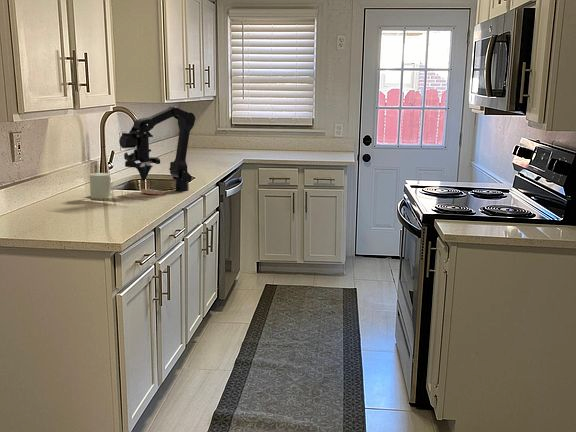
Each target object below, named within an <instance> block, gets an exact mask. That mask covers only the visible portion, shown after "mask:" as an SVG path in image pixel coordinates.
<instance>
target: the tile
mask: <svg viewBox="0 0 576 432" xmlns="http://www.w3.org/2000/svg"><path fill="white" fill-rule="evenodd" d="M140 192H141V193H148V194H158V195H163V194H166V193H167V191H165V190H159V189H158V190H157V189H143V188H141V190H140Z"/></svg>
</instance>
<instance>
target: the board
mask: <svg viewBox="0 0 576 432" xmlns="http://www.w3.org/2000/svg"><path fill="white" fill-rule="evenodd" d="M166 196H167V195H165V194H148V193H141V191H140V192H138V191H134V192H130V193H125V194H121V195H117V196H115V198H121V199H130V200H137V201H146V202H147V201H152V200H155V199H158V198H163V197H166Z"/></svg>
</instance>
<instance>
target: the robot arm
mask: <svg viewBox="0 0 576 432" xmlns="http://www.w3.org/2000/svg"><path fill="white" fill-rule="evenodd" d="M171 118H174V119H175V120H177V125H178V129H179V133H178V138H177V139H178V140H177V146H176V152H175V153H176V154H175V159H174V160H173V161H170V162H169V169H168V170H169V174H170V176H171V177H172V179H173V181H175V192H180V193H181V192H189V191H190V190H189V189H190V187H189V186H190V183H189V182H191V181H192V179H193V176H192V175H191V174H190V173H189V172H188V165H187V164H188V163H187V161H186V160H187V153H188V147H189V146H188V145H189V138H190V135H191V134H190V133H191V130H192V129H193V127H194V125H195V123H196V116H195V114H194V113H192V112H188V111H186V110H183V109H180V108H178V107H176V106H169V107H168V108H166V109H164V110H162V111H160V112H157V113H155V114H153V115H151V116H149V117H143V118H138V119H135V120H134V121H133V125H132V126H131V129H130V131H129V132H121V136H120V137H119V141H118V142H119V146H120V147H121V149H133V152H132V153H130V152H129V151H128V152H124V154H123V159H124V160H125V162H124V167H126V168H133V169H134V168H135V169H137V171H138V173H139V176H140V179H141V181H143V182H145V181H146V180H147V177H148V175H149V172H150V171H151V169H152V168H153V167H154V165H151V164H155V165H160V164H161V159H160V157H154V156H153V157H152V156H151V157H150V152H152V149H150V143H149V142H150V138H153V137H154V135H153V134H151V132H150V131H151V130H152V129H154V127H155V126H156V125H158V124H160V123H162V122H164V121H167V120H168V119H171Z"/></svg>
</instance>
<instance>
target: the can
mask: <svg viewBox="0 0 576 432" xmlns="http://www.w3.org/2000/svg"><path fill="white" fill-rule="evenodd" d="M88 176H89V177H88V178H89V189H90V201H94V202H106V199H108V198H111V197H112V194H111V193H112V191H111V189H112V188H111V174H110V173H108V172H95V173H94V172H93V173H89V174H88ZM104 199H105V200H104Z"/></svg>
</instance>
